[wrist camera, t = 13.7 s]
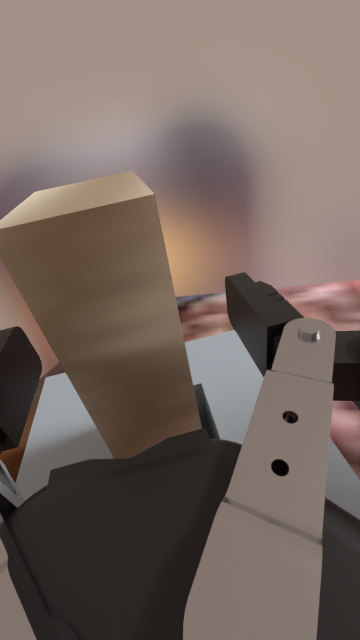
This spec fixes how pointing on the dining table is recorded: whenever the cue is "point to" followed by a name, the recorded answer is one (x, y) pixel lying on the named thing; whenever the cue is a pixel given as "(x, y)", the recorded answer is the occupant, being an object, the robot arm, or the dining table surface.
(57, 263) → the wooden bar
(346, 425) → the dining table surface
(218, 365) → the grey square socket block
